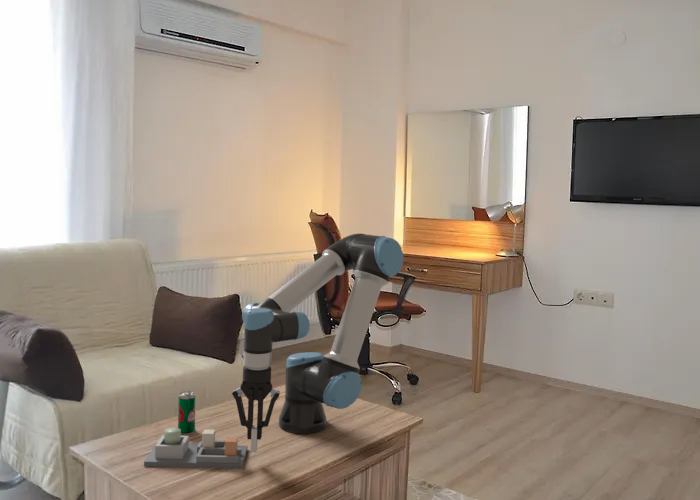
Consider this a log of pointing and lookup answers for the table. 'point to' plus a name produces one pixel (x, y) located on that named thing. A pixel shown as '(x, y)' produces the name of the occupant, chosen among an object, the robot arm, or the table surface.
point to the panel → (194, 455)
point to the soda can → (186, 412)
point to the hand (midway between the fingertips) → (253, 450)
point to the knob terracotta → (231, 446)
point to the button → (172, 436)
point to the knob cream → (208, 438)
